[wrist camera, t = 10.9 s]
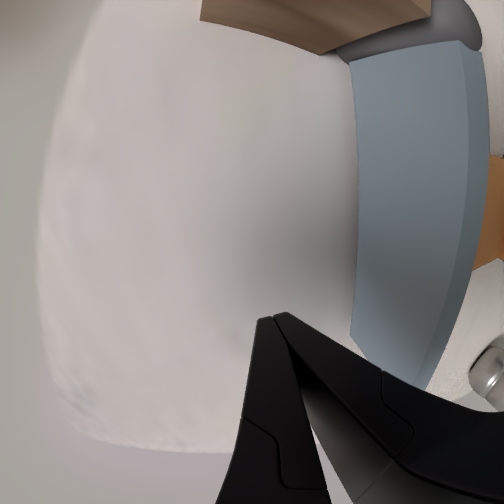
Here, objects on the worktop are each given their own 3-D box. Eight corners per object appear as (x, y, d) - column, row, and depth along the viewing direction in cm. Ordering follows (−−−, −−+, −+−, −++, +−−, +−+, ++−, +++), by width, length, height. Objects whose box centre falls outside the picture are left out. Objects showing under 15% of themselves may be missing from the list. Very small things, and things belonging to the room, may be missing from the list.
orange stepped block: (367, 253, 13) (445, 320, 8) (369, 152, 11) (475, 182, 6) (475, 223, 15) (536, 259, 10) (482, 152, 12) (552, 177, 7)
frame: (523, 177, 14) (574, 200, 9) (518, 198, 15) (569, 224, 10) (215, -18, 6) (247, -117, 1) (199, 20, 7) (218, -80, 2)
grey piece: (331, 27, 8) (434, -19, 3) (367, 32, 8) (473, 4, 3) (341, 332, 15) (395, 410, 9) (368, 322, 15) (426, 393, 10)
